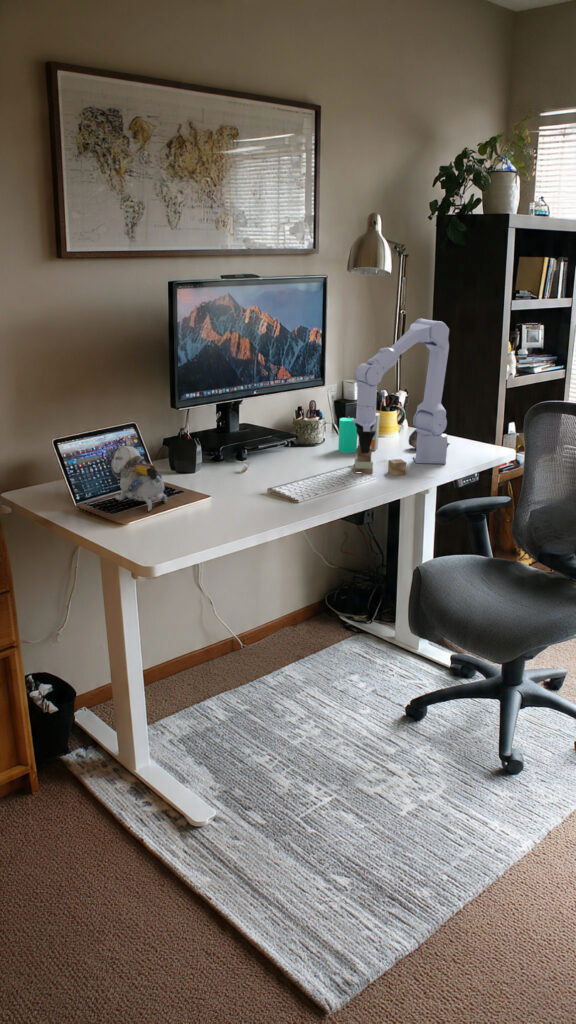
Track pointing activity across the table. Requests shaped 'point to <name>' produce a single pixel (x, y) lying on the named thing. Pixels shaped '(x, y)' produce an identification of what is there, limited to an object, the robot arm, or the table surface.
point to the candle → (347, 435)
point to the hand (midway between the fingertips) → (364, 449)
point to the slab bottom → (363, 470)
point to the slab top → (363, 464)
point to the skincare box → (375, 428)
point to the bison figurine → (415, 439)
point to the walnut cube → (363, 455)
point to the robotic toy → (136, 476)
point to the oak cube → (397, 467)
